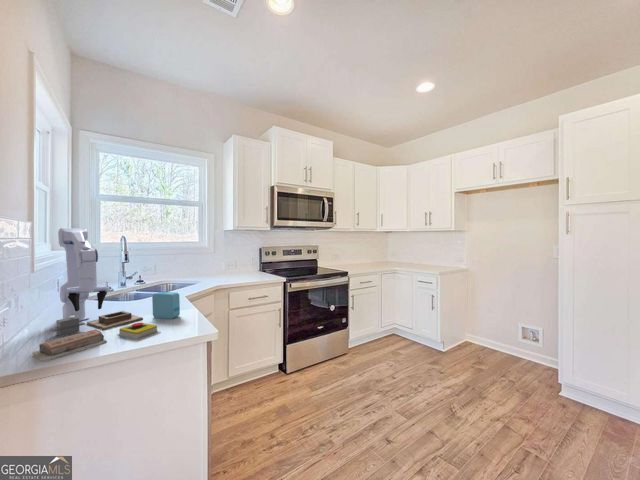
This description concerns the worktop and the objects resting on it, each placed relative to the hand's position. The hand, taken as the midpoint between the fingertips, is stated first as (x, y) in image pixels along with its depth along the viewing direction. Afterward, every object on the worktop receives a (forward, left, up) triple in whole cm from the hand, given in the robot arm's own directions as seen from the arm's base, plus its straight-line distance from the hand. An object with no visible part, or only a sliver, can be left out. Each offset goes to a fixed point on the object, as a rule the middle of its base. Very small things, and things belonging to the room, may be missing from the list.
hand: (88, 309), depth 118 cm
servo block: (-5, -5, -9) cm, 12 cm away
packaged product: (+16, -11, -10) cm, 22 cm away
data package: (+10, +28, -10) cm, 31 cm away
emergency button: (+22, +9, -10) cm, 26 cm away
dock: (-4, +12, -9) cm, 15 cm away
